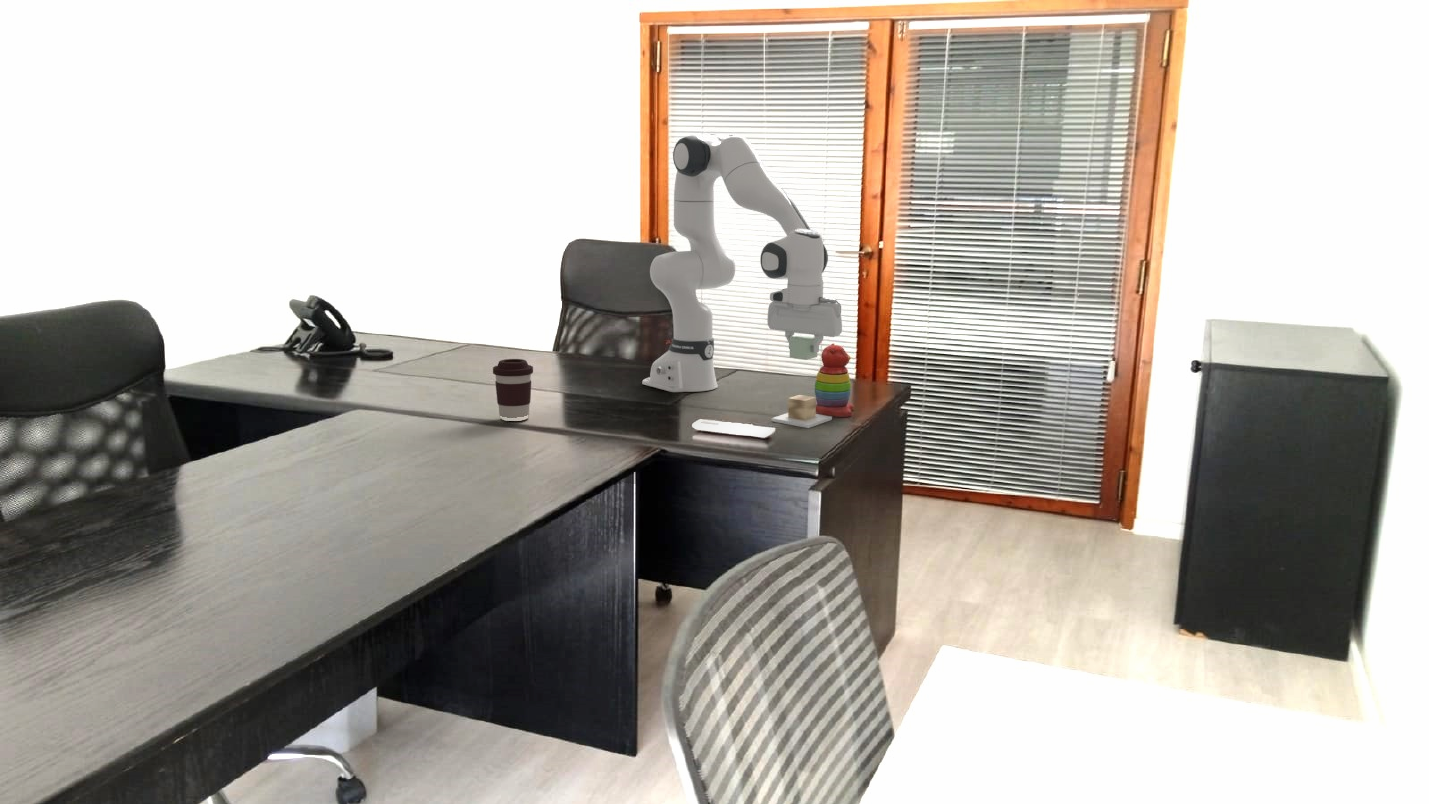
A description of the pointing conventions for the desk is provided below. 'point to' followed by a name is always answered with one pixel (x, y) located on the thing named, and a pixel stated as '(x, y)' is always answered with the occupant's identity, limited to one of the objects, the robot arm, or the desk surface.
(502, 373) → the coffee cup
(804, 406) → the oak block
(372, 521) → the desk surface
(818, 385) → the stacking bear
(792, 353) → the sage block
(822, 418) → the plate
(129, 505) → the desk surface
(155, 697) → the desk surface
